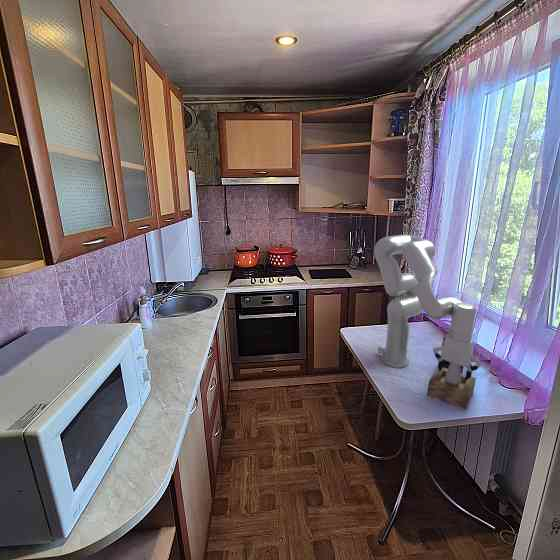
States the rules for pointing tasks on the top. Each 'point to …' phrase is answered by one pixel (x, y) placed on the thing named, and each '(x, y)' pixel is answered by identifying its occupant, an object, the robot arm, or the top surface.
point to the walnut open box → (451, 389)
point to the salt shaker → (453, 375)
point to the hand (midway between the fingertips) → (453, 374)
